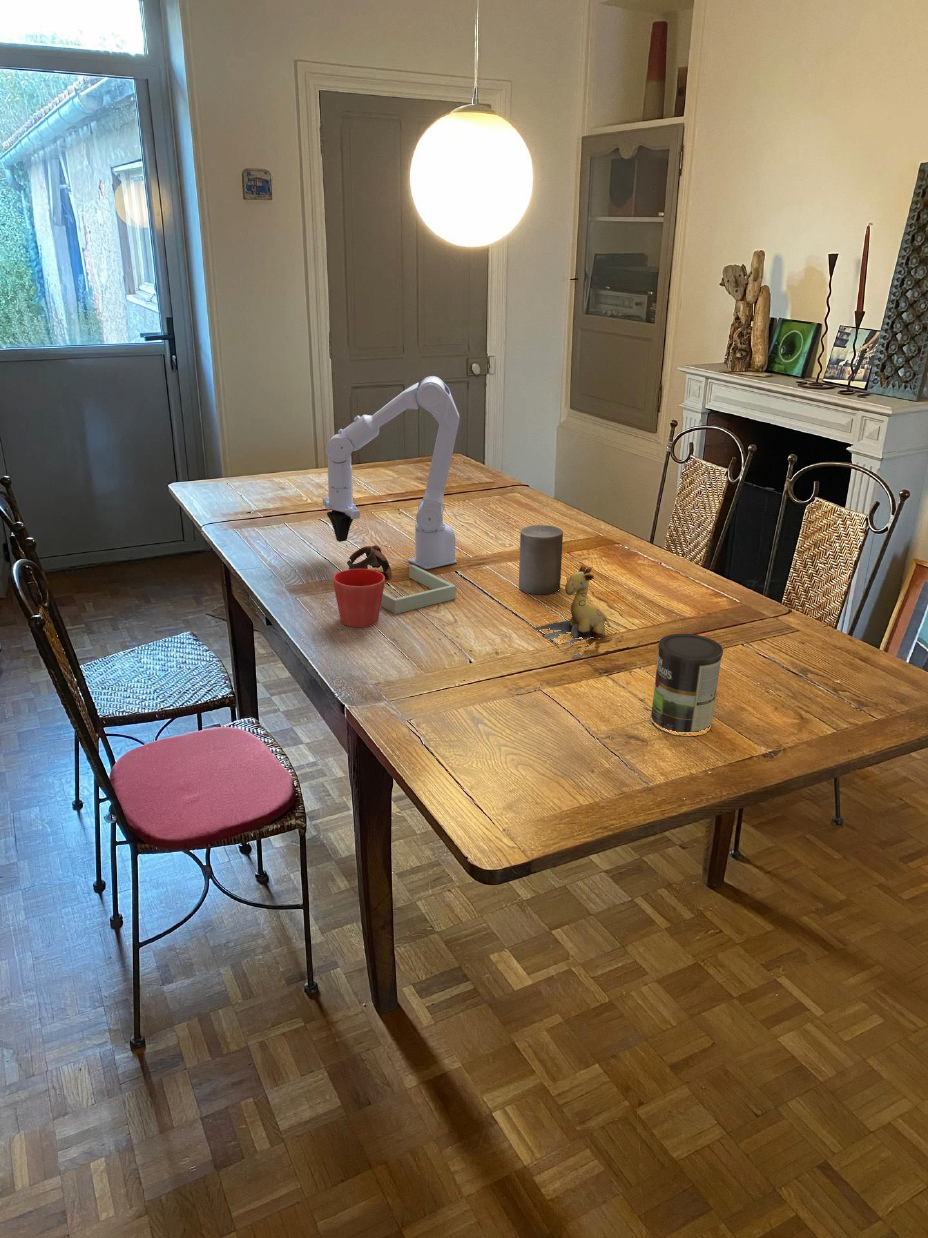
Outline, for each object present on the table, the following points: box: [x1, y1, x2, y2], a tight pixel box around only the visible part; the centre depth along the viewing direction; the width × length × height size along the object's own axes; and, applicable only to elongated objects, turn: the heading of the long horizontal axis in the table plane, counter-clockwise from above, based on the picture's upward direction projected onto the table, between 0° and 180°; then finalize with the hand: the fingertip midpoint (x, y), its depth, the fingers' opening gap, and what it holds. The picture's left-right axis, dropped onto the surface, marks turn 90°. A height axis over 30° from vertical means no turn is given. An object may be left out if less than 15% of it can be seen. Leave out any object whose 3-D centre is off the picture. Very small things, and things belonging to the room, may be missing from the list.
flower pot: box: [332, 568, 386, 628], centre depth 194 cm, size 11×11×10 cm
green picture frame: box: [381, 564, 457, 615], centre depth 210 cm, size 16×17×3 cm
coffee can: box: [650, 633, 724, 732], centre depth 156 cm, size 10×10×14 cm
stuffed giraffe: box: [532, 564, 611, 659], centre depth 188 cm, size 16×18×16 cm
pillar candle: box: [518, 524, 564, 596], centre depth 213 cm, size 10×10×15 cm
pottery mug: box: [346, 544, 393, 581], centre depth 221 cm, size 12×9×8 cm
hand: (341, 540), depth 229 cm, fingers closed
